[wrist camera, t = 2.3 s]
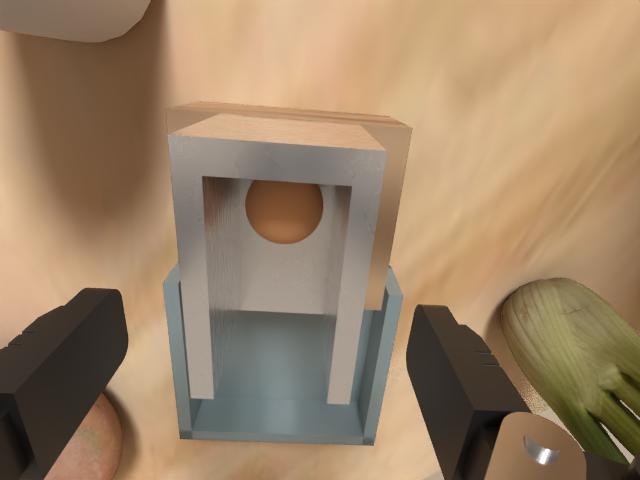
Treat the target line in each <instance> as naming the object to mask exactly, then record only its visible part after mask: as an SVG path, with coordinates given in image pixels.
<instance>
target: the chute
mask: <svg viewBox="0 0 640 480" xmlns="http://www.w3.org/2000/svg"><path fill="white" fill-rule="evenodd" d="M168 146H169V157H170V168H171V180H172V191H173V202H174V213H175V225H176V236H177V247H178V259H179V270H180V281H181V292H182V304H183V315H184V326H185V338H186V349H187V360H188V372H189V383H190V394H191V398H197V399H214V397H215V394H216V391H217V387H218V384H219V381H220V378H221V374H222V371H223V368H224V364H225V361H226V358H227V355H228V351H229V348H230V345H231V341H232V338H233V335H234V331H235V328H236V325H237V322H238V318H239V315H240V312H241V310H248V311H267V312H287V313H306V314H323V327H324V349H325V370H326V391H327V404H349V403H350V397H351V390H352V383H353V377H354V370H355V363H356V356H357V350H358V343H359V336H360V330H361V323H362V316H363V309H364V303H365V296H366V289H367V283H368V276H369V269H370V262H371V256H372V249H373V242H374V236H375V229H376V222H377V215H378V209H379V202H380V195H381V189H382V182H383V175H384V168H385V162H386V155H387V150H386V149H385V148H384V147H383V146H381V145H380V144H379V143H378V142H377V141H376V140H375V139H374V138H373V137H372V136H371V135H370V134H369V133H368V132H367V131H366V130H365V129H364V128H363V127H362V126H361V125H360V124H352V123H339V122H326V121H313V120H300V119H288V118H275V117H262V116H249V115H236V114H224V113H221V114H218V115H216V116H213V117H211V118H208V119H206V120H203V121H201V122H198V123H195V124H193V125H190V126H188V127H185V128H183V129H180V130H178V131H175V132H173V133H170V134H168ZM254 180H269V181H284V182H298V183H312V184H317V185H318V186H319V188H320V191H321V193H322V197H323V203H324V206H323V215H322V218H321V221H320V223H319V225H318V226H317V228H316V229H315V231H314V232H313V233H312V234H311V235H310V236H308V237H307V238H305V239H304V240H302V241H300V242H297V243H293V244H276V243H273V242H270V241H268V240H266V239H264V238H262V237H261V236H260V235H259V234H257V233H256V231H255V230H254V229H253V228H252V226H251V225H250V223H249V221H248V218H247V215H246V210H245V199H246V195H247V192H248V189H249V187H250V185H251V184H252V182H253V181H254Z"/></svg>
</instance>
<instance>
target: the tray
mask: <svg viewBox="0 0 640 480" xmlns="http://www.w3.org/2000/svg"><path fill="white" fill-rule="evenodd" d="M163 289H164V298H165V307H166V316H167V325H168V334H169V343H170V352H171V361H172V370H173V379H174V388H175V397H176V406H177V415H178V424H179V433H180V439H196V440H225V441H255V442H284V443H314V444H343V445H372V446H374V441H375V436H376V431H377V426H378V421H379V416H380V411H381V406H382V401H383V396H384V391H385V386H386V381H387V376H388V371H389V366H390V360H391V355H392V350H393V345H394V340H395V335H396V330H397V325H398V320H399V315H400V310H401V305H402V300H403V294H402V292H401V290H400V287H399V285H398V282H397V280H396V278H395V275H394V273H393V270H392V268H391V266H389V267H388V273H387V279H386V285H385V290H384V296H383V302H382V308H381V310H363V316H362V323H361V330H360V336H359V343H358V350H357V356H356V363H355V370H354V377H353V383H352V390H351V397H350V403H349V404H327V391H326V370H325V349H324V327H323V314H306V313H287V312H267V311H248V310H241V312H240V315H239V318H238V322H237V325H236V328H235V331H234V335H233V338H232V341H231V345H230V348H229V351H228V355H227V358H226V361H225V364H224V368H223V371H222V374H221V378H220V381H219V384H218V387H217V391H216V394H215V397H214V399H197V398H191V394H190V383H189V372H188V360H187V349H186V338H185V326H184V315H183V304H182V292H181V281H180V270H179V261H178V263H177V264H176V265H175V267H174V268H173V270H172V271H171V272H170V274H169V275H168V276H167V278H166V279H165V281H164V282H163Z"/></svg>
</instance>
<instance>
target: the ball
mask: <svg viewBox="0 0 640 480" xmlns="http://www.w3.org/2000/svg"><path fill="white" fill-rule="evenodd" d="M323 206H324V203H323V197H322V193H321V191H320V188H319V186H318V185H317V184H312V183H298V182H284V181H269V180H254V181H253V182H252V184H251V185H250V187H249V189H248V192H247V195H246V199H245V210H246V215H247V218H248V221H249V223H250V225H251V226H252V228H253V229H254V230H255V231H256V233H257V234H259V235H260V236H261V237H262V238H264V239H266V240H268V241H270V242H273V243H276V244H293V243H297V242H300V241H302V240H304V239H305V238H307V237H308V236H310V235H311V234H312V233H313V232H314V231H315V229H316V228H317V226H318V225H319V223H320V221H321V218H322V215H323Z"/></svg>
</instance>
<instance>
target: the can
mask: <svg viewBox="0 0 640 480" xmlns="http://www.w3.org/2000/svg"><path fill="white" fill-rule="evenodd" d="M150 2H151V0H0V30H2V31H9V32H16V33H22V34H29V35H35V36H42V37H48V38H55V39H62V40H68V41H75V42H97V43H101V42H104V41H107V40H110V39H113V38H116V37H119V36H122V35H124V34H125V33H126V32H127V31H128V30H130V29H131V28H132V27H133V26H134V25H135V24H136V23H138V22H139V21H140V20H141V19H142V17H143V15H144V13H145V11H146V9H147V7H148V6H149V4H150Z"/></svg>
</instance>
